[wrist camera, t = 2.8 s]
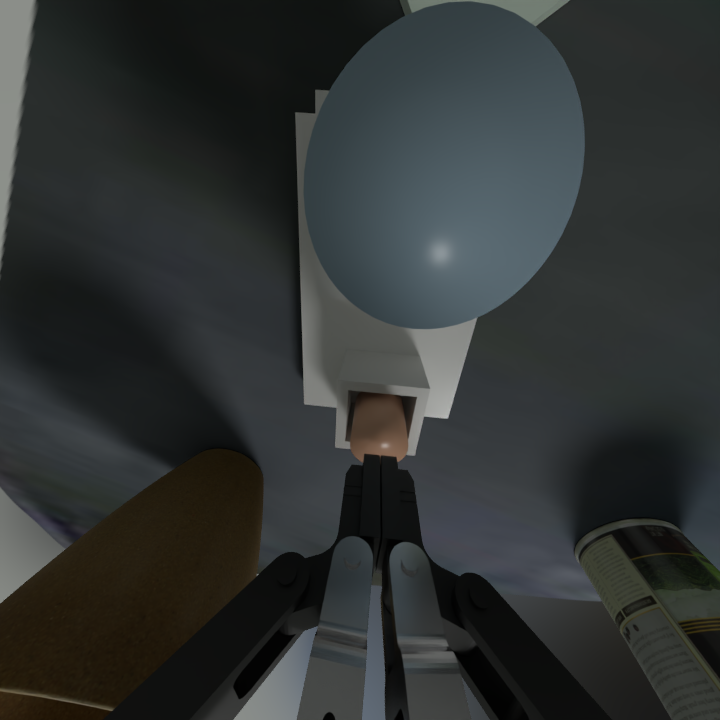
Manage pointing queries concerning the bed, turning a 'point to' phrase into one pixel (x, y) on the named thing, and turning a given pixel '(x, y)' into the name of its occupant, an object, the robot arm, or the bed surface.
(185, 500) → the plant pot
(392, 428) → the plunger
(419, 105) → the blue-grey elongated rounded piece
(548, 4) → the mat
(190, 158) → the bed surface
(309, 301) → the housing
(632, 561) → the coffee can
